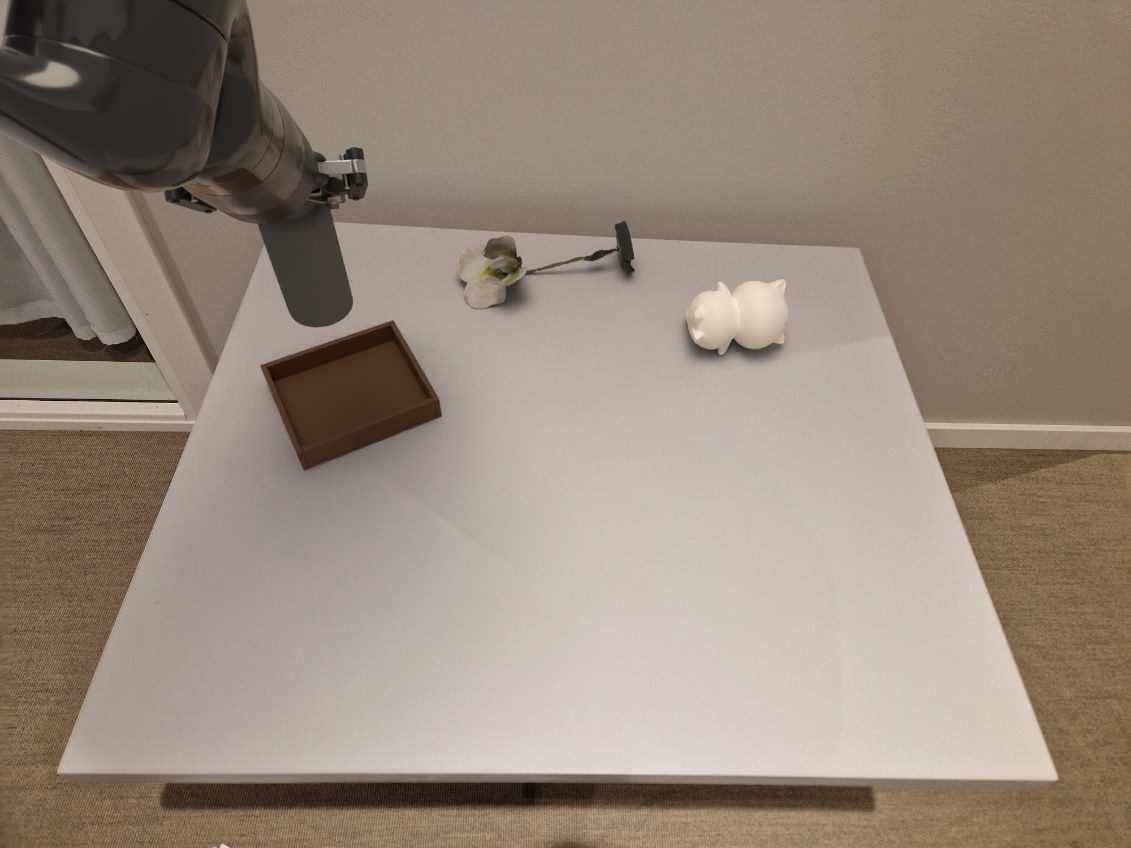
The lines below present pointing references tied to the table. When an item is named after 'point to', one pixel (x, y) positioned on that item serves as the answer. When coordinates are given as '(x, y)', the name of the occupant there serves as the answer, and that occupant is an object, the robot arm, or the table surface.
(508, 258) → the artificial flower
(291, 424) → the tray
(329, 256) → the bottle
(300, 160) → the robot arm
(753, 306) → the cat figurine
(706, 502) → the table surface
